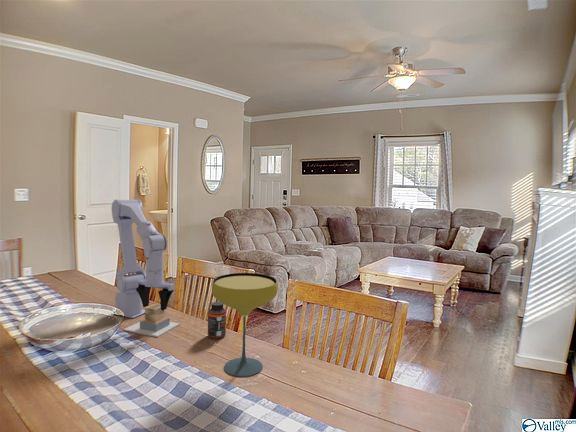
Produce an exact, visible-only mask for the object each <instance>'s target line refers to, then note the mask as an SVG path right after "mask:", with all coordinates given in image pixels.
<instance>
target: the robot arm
mask: <svg viewBox="0 0 576 432" xmlns="http://www.w3.org/2000/svg"><path fill="white" fill-rule="evenodd" d="M110 208H111V215H112V217H111V218H112V220H113V223H114V224H117V228H118V234H119V235H118V236H119V243H120V248H121V249H120V251H121V256H122V263H123V266H122V268H121V269H119V270H118V272H117V273H116V288H117V290H118V291H117V293H116V294H115V303H114V304H115V308H118V309H120V310H121V311H122V312H123V313H124V315H125V318H131V319H135V318H137V317H140V316H141V315H145V309H143V308H146V307H148V306H150V305H149V304H150V294H151V289H152V288H153V289H161V290H159V291H157V293H158V296H159V300H160V301H159V302H160V305H161V310H164V311H165V310H167V308H168V305H169V304H168V303H169V301H170V298H171V297H172V294H173V292H174V289H175V283H171V282H168V281H165V280H164V256H165V255H164V254H165V253H164V252H165V251H166V249H167V247H168V246H167V245H168V241H167V237H166V236H165V234H163V233H160V232H158V230H157V229H156V228H155V226H154V225H153V223H152V221H150V220H149V221H148V220H147V219H146V217H145V215H144V212H143V203H142V201H141V199H138V198H136V199H113V201H112V203H111V207H110ZM133 223H134V224H135V226H136V233H137V234H138V235H139V238H141V239H140V240H141V241H142V248H143V253H144V254H143V256H144V257H145V268H144V267H142V266H140V265H139V264H138V260H137V253H136V246H135V239H134V232H133Z"/></svg>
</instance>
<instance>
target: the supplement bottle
mask: <svg viewBox="0 0 576 432" xmlns="http://www.w3.org/2000/svg"><path fill="white" fill-rule="evenodd" d="M210 304H211V306H210V307H211V308H209V310H208V311H207V317H208V318H207V319H208V320H207V336H208V337H209V338H210V339H214V340H215V339H216V340H217V339H223V338H224V337H225V336H226V333H227V330H226V329H227V328H226V327H227V325H226V324H227V310H226V308H225V307H224V304H222V303H221V302H219V301H213V302H211V303H210Z"/></svg>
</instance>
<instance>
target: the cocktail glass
mask: <svg viewBox="0 0 576 432" xmlns="http://www.w3.org/2000/svg"><path fill="white" fill-rule="evenodd" d="M277 280H278V279H276V278H275V277H273V276H270V275H267V274H264V273H255V272H254V273H253V272H238V273H237V272H235V273H227V274H223V275H219V276H217V277H215V278H214V279H213V280H212V281H211V282H212V283H211V294H212V296H213V298H215V299H216V300H217V302H221V303H222V304H223V306H224V305H225V306H227V307H229V308H231V309H234V310H236V311H237V313H239V315H240V316H241V317H242V318H243V322H242V323H243V325H242V352H241V353H242V354H241V357H237V358H233V359H230V360H229V361H227V362H226V363H225V364H224V365H223V366H224V368H223V369H224V371H225V373H227V374H228V375H230V376H233V377H238V378H239V377H240V378H247V377H252V376H255V375H258V374H259V373H260V372H261V371H262V370H263V366H264V365H263V363H262V361H260V360H258V359H257V358H256V359H255V358H252V357H246V356H247V355H246V317H248V316H249V315H250V314H251V312H252V311H253V310H255V309H258V308H261V307H262V306H265V305H267V304H268V303H270V302H271V301H272V300H274V299H275V298H276V297H277V294H278V289H279V287H278V281H277Z"/></svg>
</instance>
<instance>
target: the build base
mask: <svg viewBox="0 0 576 432" xmlns="http://www.w3.org/2000/svg"><path fill="white" fill-rule="evenodd" d="M170 320H171V319H170V317H166V316H164V319H162V320H160V321H158V322H156V323H155V322H150V321H145V318H144V319H142V320H140V321H138V322H136V323H134V324H132V325H130V326H128V327H126V328H124V329H123V331H125V332H130V333H135V334H139V335H144V336H149V337H153V338H160V337H161V336H163V335H165V334H166V333H168V332H171V331H172V330H173V329H175V328H176V327H177V328H178V327H179V326H180V324H181V323H179V322H173V321H170Z"/></svg>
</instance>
